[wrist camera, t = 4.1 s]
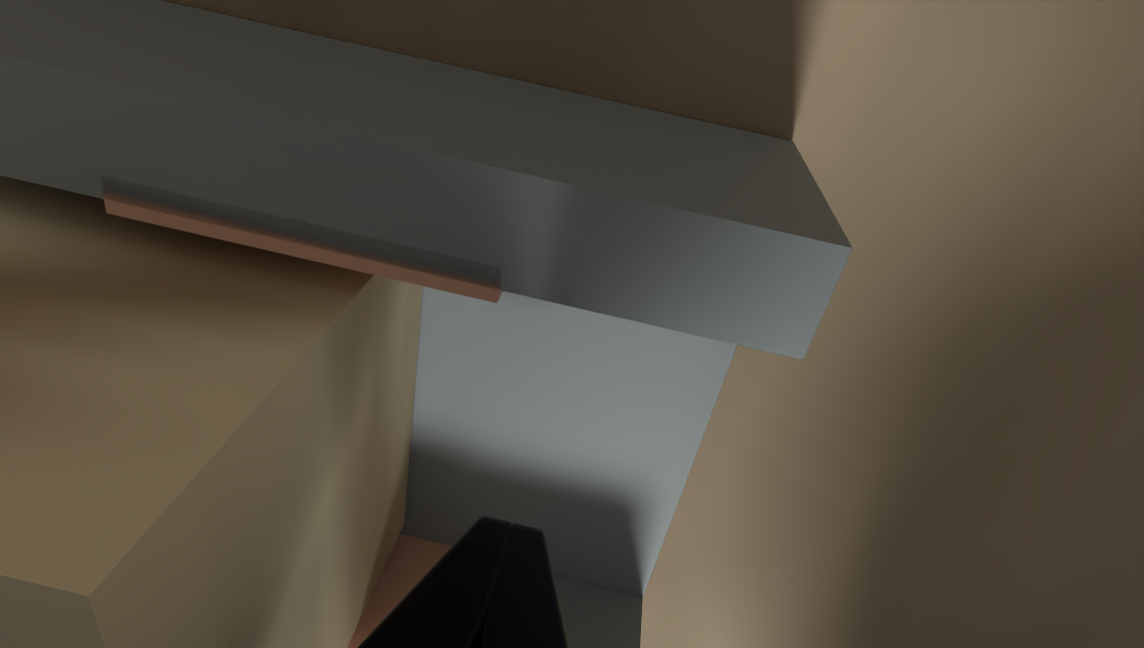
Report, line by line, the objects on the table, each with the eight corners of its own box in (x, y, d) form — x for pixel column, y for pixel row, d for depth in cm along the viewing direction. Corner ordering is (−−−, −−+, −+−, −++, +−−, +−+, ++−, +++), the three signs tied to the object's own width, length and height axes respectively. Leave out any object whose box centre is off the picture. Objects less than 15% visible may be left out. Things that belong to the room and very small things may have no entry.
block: (427, 213, 9) (88, 595, 4) (404, 523, 12) (200, 966, 7) (-5, 115, 9) (-904, 355, 4) (82, 447, 12) (-356, 824, 7)
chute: (793, 141, 9) (852, 247, 6) (630, 593, 14) (617, 778, 11) (-631, -177, 9) (-1254, -229, 6) (-299, 370, 14) (-563, 488, 11)
